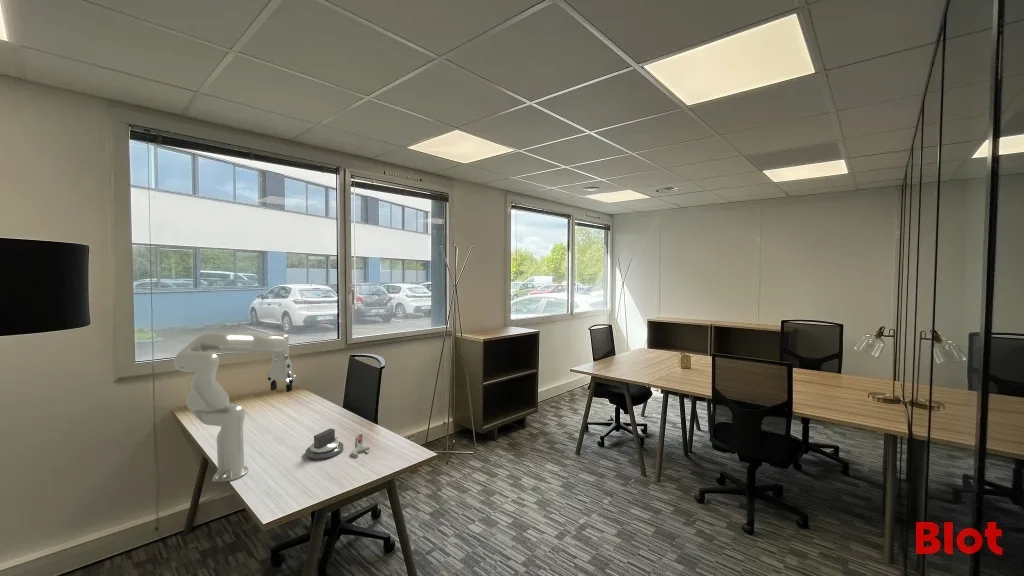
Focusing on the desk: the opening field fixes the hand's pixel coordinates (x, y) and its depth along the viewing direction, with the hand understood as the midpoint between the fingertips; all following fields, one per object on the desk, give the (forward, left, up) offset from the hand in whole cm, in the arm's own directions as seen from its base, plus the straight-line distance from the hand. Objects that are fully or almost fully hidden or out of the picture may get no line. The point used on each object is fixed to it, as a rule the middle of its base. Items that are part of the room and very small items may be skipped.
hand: (281, 390), depth 205 cm
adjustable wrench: (-6, -41, -29) cm, 50 cm away
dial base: (-11, -25, -28) cm, 39 cm away
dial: (-10, -25, -26) cm, 38 cm away
